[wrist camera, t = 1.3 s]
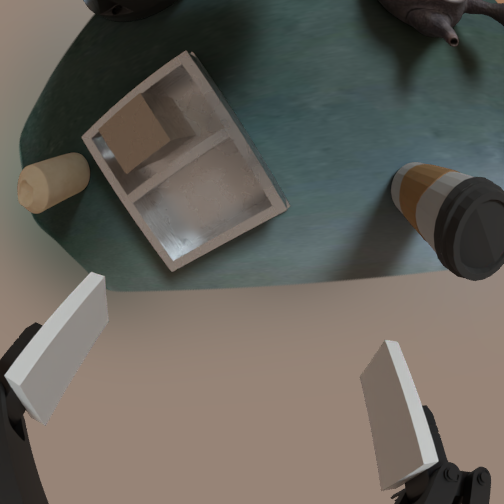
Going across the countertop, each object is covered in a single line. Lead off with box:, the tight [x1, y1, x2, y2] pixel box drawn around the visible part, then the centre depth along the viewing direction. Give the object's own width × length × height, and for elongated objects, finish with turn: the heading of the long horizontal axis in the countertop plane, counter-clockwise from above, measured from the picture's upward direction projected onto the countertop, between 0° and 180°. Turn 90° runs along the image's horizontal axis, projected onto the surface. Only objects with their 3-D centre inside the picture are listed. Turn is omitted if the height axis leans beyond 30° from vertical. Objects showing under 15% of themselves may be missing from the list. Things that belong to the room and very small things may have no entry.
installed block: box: [98, 93, 196, 174], centre depth 25 cm, size 5×5×8 cm
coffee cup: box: [391, 162, 504, 281], centre depth 23 cm, size 8×8×15 cm
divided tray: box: [81, 51, 290, 272], centre depth 28 cm, size 20×14×5 cm
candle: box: [17, 152, 90, 214], centre depth 27 cm, size 6×6×10 cm
